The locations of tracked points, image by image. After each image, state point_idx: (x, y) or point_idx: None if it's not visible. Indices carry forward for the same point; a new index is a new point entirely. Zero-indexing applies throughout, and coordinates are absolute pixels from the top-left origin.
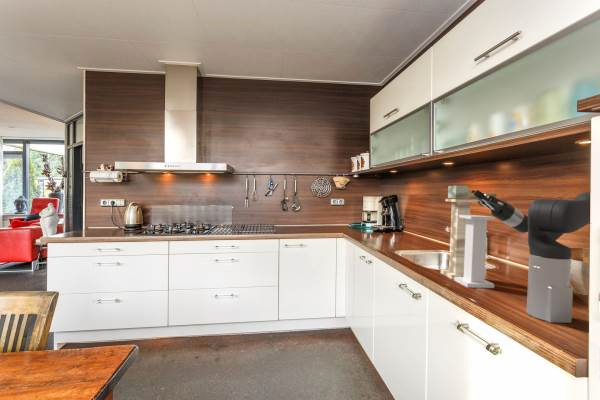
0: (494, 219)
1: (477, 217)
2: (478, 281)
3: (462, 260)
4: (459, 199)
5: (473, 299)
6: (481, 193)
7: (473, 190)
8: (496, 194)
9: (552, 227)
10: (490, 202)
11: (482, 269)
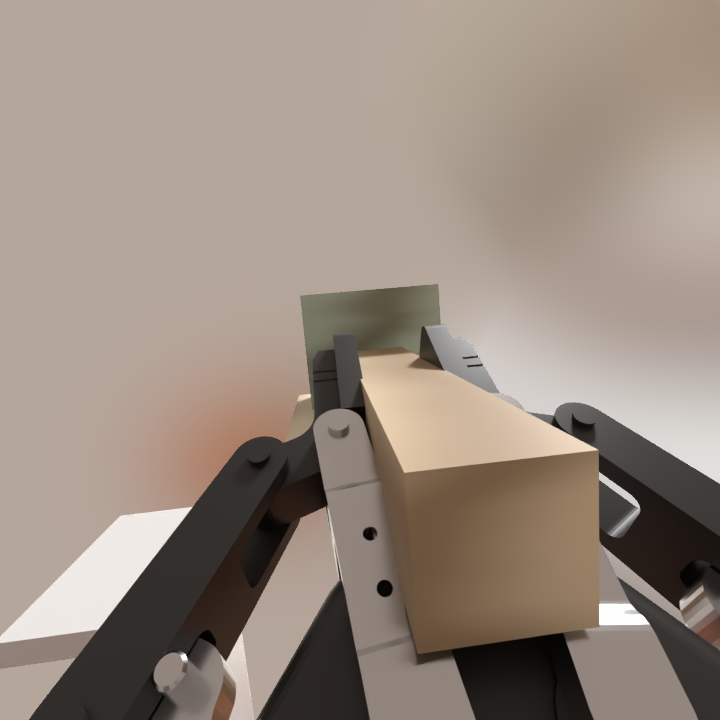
0: (3, 661)
1: (97, 544)
2: None
3: None
4: (297, 401)
5: None
6: (314, 384)
7: (425, 329)
8: (410, 503)
9: None
10: (245, 560)
11: None
